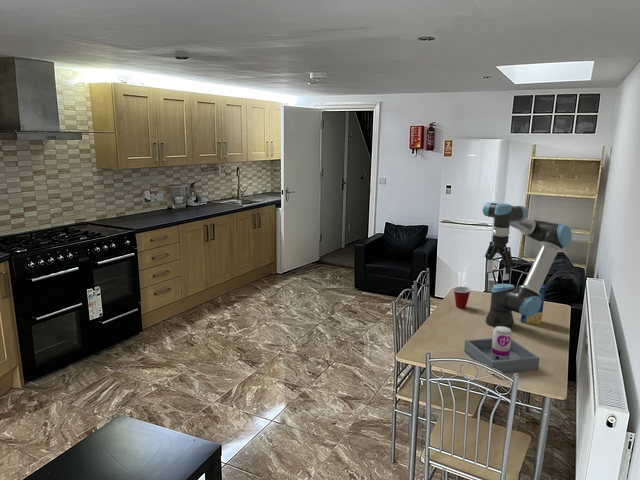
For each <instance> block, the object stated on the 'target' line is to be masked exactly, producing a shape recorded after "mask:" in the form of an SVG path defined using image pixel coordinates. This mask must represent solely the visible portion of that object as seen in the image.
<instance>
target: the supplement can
mask: <svg viewBox="0 0 640 480" xmlns="http://www.w3.org/2000/svg"><path fill="white" fill-rule="evenodd" d="M512 333H513V332H512V329H511V328H508V327H504V326H496V327H494V329H493V332H492V338H493V340H492V350H491V357H492V358H493V359H494V360H496V361H497V360H508V359H509V355H510V346H511V339H512V335H513V334H512Z"/></svg>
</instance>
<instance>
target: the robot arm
mask: <svg viewBox="0 0 640 480" xmlns="http://www.w3.org/2000/svg"><path fill="white" fill-rule="evenodd" d="M482 213H483V216H485V217H488V218H493V230H492V231H493V232H492V240H491V241H489V245H488V248H487V250H486V253H485V255H484V257H485V258H486V260H487V263H486V273H493V267H494V266H493V264H494V257H495V256H496V254H499V256H501V260H502V262H503V265H504V267H503V272H502V273H503V274H502V280H503V281H508V280H509V278H510V277H509V276H510V272H511V268H514V262H513V257H512V252H511V246H507V244H508V243H509V238H510V237H509V235H510V227H511V228H514V229H516V230H518V231H520V233H521V234H522V235H524V236H526V237H528V238H531V239H532V240H535V241H537V242H539V244H540V248H539V250H538V253H537V255H536V257H535V258H534V261H533V263H532V265H531V267H530V269H529V271H528V274H527V275H526V278H525V280H524V282H523V284H522V285H519V286H518V287H517V289H515V285H514V284H510V283H497V284H494V285H493V286H492V289H491V295H490V297H491V298H490V306H489V311H488V312H487V316H486V317H485V323H486V324H487V325H488V326H491V327H494V328H495V327H496V326H504V327H508V328H510V329H511V328H513V327H514V326H515V320H514V316H513V312H514V313H518V314H519V315H520V314H521V315H526V316H533V315H535V314H536V313H537V312H538V311H539V309H540V307H541V299H540V298H539V297H540V293H539V290H540V288H541V286H542V284H544V282H545V279H546V277H547V275H548V274H549V270H550V269H551V267H552V264H553V263H554V260H555V258H556V257H557V254H558V253H561V252H562V251H563V248H567V247H569V246H570V245H571V243H572V239H573V233H572V229H571V228H570V226H568V225H565V224H562V223H556V222H549V221H544V220H537V219H533V218H531V217H529V218H528V210H527V208H526V206H523V205H515V206H514V205H511V204H509V203H496V202H486V203H485V204H484V205H483V207H482Z"/></svg>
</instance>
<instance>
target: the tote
mask: <svg viewBox="0 0 640 480" xmlns="http://www.w3.org/2000/svg"><path fill="white" fill-rule="evenodd" d="M492 340H493V337H491V338H476V339H465V340H464V348H463V350H464V351H463V352H464V353H465V354H467V356H469V357H470V358H471V359H472V360H474V361H475V360H476V361H478V362H480V363H483V364H486V365H488V366H490V367H492V368H495V369H497V370H499V371H501V372H503V373H502V374H510V373H512V374H513V373H520V372H530V371H529V370H532V371H538V370H539V366H540V365H539V364H540V357H539V356H537V355H536V354H535V353H534V352H532V351H530V350H528V349H527V348H526V347H524V346H523V345H522V344H520V343H518V342H517V341H515V340H514V339H512V338H511V346H510V355H509V359H508V360H497V361H496V360H494V359H493V358H492V357H491V350H492ZM476 361H475V362H476ZM537 369H538V370H537Z"/></svg>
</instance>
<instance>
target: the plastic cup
mask: <svg viewBox="0 0 640 480" xmlns="http://www.w3.org/2000/svg"><path fill="white" fill-rule="evenodd" d="M452 291H453V292H454V293H453V294H454V301H455V307H456V308H457V307H458V308H457V309H461V308H463V309H466V308H467V304H468V301H469V296H470V294H471V291H472V289H471V288H470V287H467V286H455V287H453V288H452ZM465 307H466V308H465Z"/></svg>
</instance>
